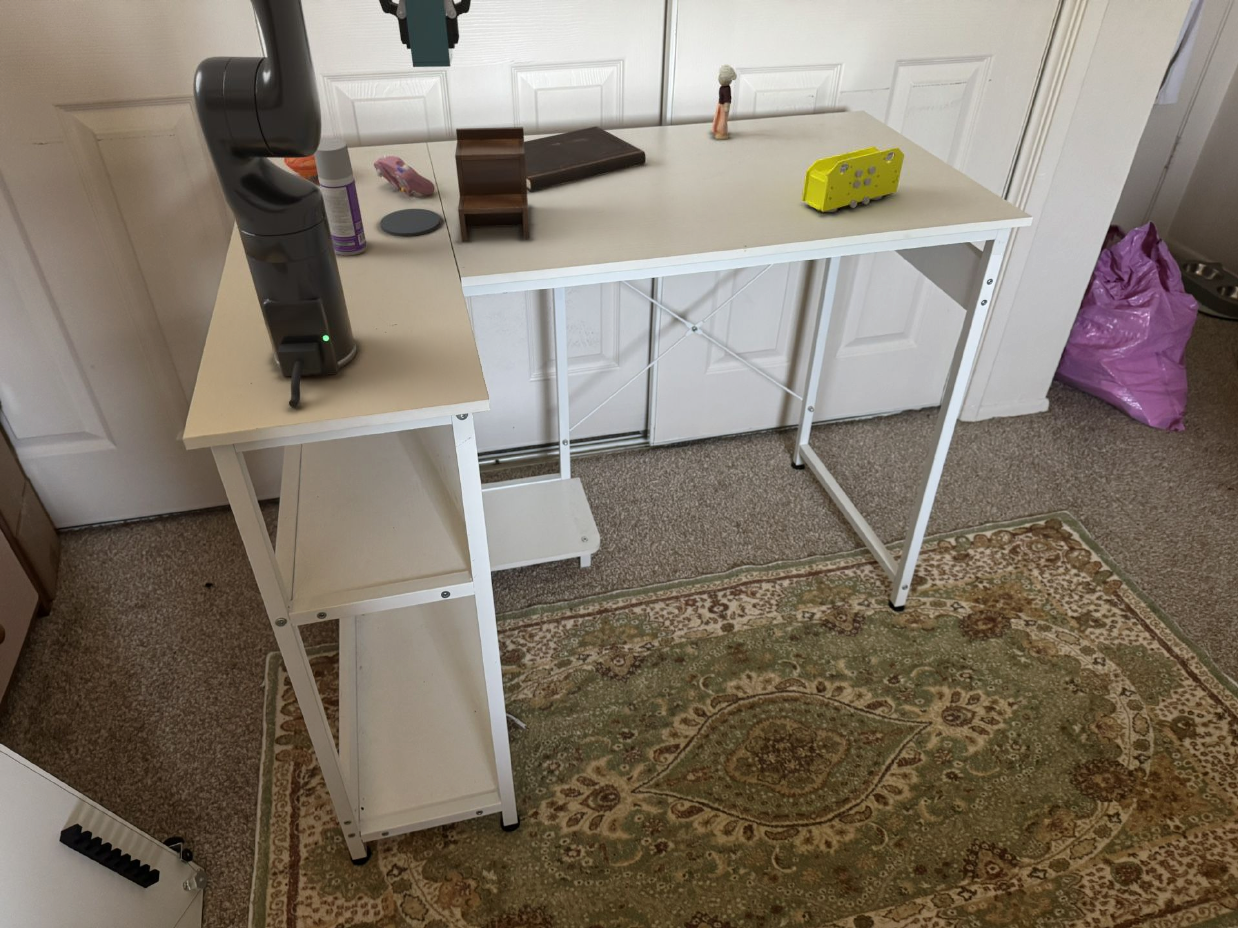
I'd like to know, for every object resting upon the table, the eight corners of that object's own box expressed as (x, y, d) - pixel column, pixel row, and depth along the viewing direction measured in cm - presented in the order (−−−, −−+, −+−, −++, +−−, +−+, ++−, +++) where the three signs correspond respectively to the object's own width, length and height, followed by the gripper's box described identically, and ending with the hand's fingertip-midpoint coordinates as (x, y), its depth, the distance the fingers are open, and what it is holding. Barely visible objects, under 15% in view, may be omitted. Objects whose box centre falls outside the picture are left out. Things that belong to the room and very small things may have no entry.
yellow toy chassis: (823, 218, 136) (832, 165, 130) (799, 205, 139) (807, 153, 134) (897, 197, 142) (908, 146, 137) (872, 186, 146) (882, 135, 141)
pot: (336, 163, 151) (330, 128, 145) (339, 190, 146) (332, 155, 141) (287, 166, 149) (279, 130, 144) (289, 193, 144) (281, 157, 139)
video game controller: (386, 192, 146) (363, 160, 140) (404, 174, 147) (382, 141, 141) (420, 210, 140) (398, 177, 135) (439, 190, 141) (418, 157, 136)
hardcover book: (486, 163, 153) (485, 149, 151) (596, 138, 163) (596, 126, 161) (531, 193, 142) (530, 179, 141) (645, 165, 152) (646, 152, 151)
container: (353, 238, 129) (333, 136, 119) (373, 247, 126) (354, 144, 117) (327, 249, 126) (304, 145, 116) (347, 258, 123) (325, 153, 114)
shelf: (529, 239, 129) (524, 155, 121) (461, 241, 128) (452, 157, 120) (528, 206, 138) (523, 127, 130) (464, 208, 137) (456, 128, 129)
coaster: (438, 235, 130) (438, 232, 129) (377, 237, 129) (377, 234, 129) (442, 210, 137) (441, 207, 136) (384, 212, 136) (383, 209, 136)
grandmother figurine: (706, 130, 167) (711, 60, 159) (725, 129, 167) (731, 59, 159) (716, 144, 161) (722, 72, 153) (736, 143, 161) (743, 71, 153)
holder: (450, 66, 117) (441, -17, 111) (412, 67, 117) (402, -17, 110) (452, 57, 121) (444, -24, 115) (416, 57, 121) (406, -24, 114)
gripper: (350, -97, 104) (374, 55, 114) (471, -97, 105) (483, 54, 115) (359, -105, 109) (381, 41, 120) (474, -104, 110) (485, 40, 121)
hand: (431, 47), depth 118 cm, fingers closed on holder, 5 cm apart
